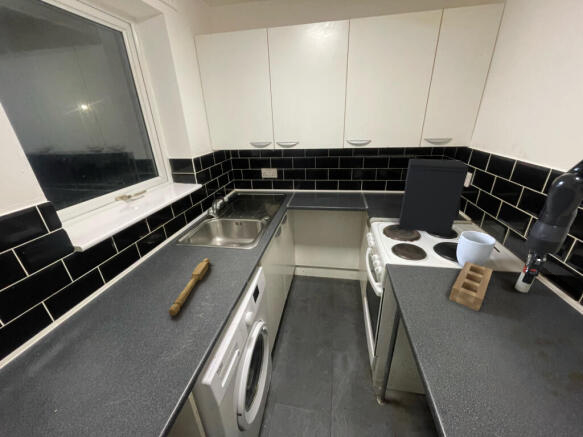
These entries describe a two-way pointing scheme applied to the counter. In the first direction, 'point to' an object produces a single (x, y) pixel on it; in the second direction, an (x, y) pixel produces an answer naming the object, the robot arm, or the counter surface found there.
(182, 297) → the tap handle
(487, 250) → the mug
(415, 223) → the tall black box
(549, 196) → the robot arm
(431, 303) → the counter surface
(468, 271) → the holder
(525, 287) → the red capped shaker
